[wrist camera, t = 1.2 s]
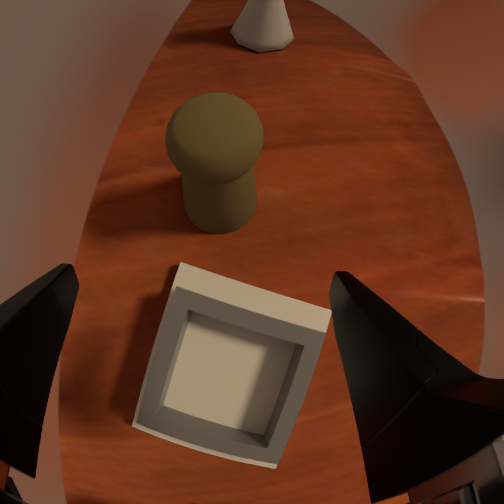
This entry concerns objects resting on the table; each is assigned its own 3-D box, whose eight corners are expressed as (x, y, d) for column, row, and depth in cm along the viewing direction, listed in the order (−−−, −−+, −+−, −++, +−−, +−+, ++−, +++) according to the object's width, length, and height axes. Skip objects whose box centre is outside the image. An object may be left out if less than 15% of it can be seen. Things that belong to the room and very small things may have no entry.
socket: (273, 463, 20) (279, 483, 17) (135, 422, 20) (121, 437, 16) (328, 310, 23) (344, 310, 19) (182, 263, 23) (174, 256, 19)
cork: (176, 227, 23) (135, 165, 12) (192, 161, 24) (171, 72, 14) (250, 240, 23) (266, 183, 13) (261, 171, 25) (281, 84, 14)
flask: (264, 16, 29) (273, -43, 19) (303, 42, 28) (321, -21, 19) (219, 32, 28) (219, -33, 18) (258, 60, 27) (267, -12, 17)
